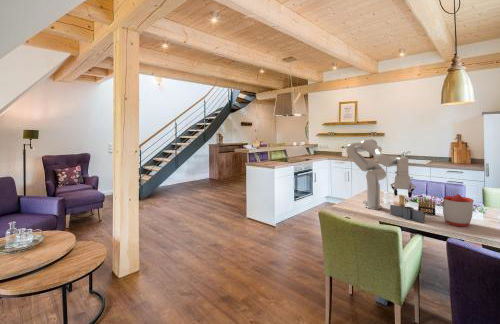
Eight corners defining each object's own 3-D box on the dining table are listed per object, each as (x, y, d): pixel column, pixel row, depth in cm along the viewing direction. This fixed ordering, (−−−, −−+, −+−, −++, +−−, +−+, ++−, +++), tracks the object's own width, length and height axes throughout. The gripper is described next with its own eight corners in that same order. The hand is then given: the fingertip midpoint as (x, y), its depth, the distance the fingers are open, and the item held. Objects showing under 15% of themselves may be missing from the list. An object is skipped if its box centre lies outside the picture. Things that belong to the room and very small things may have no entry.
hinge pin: (398, 213, 194) (398, 195, 192) (400, 213, 195) (400, 195, 194) (403, 214, 191) (403, 196, 190) (404, 213, 193) (405, 195, 192)
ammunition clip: (417, 212, 195) (418, 197, 193) (418, 212, 196) (418, 196, 195) (434, 215, 187) (435, 199, 186) (435, 214, 188) (435, 198, 187)
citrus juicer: (439, 218, 181) (440, 190, 179) (472, 222, 170) (473, 193, 168) (438, 224, 169) (438, 194, 167) (473, 229, 158) (474, 198, 156)
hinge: (387, 215, 190) (387, 205, 190) (392, 213, 195) (392, 203, 194) (423, 223, 172) (424, 212, 171) (428, 220, 176) (428, 210, 176)
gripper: (388, 173, 195) (388, 195, 196) (413, 174, 181) (413, 198, 182) (392, 172, 199) (392, 194, 200) (417, 173, 185) (417, 197, 187)
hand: (402, 196), depth 191 cm, fingers open, 9 cm apart
